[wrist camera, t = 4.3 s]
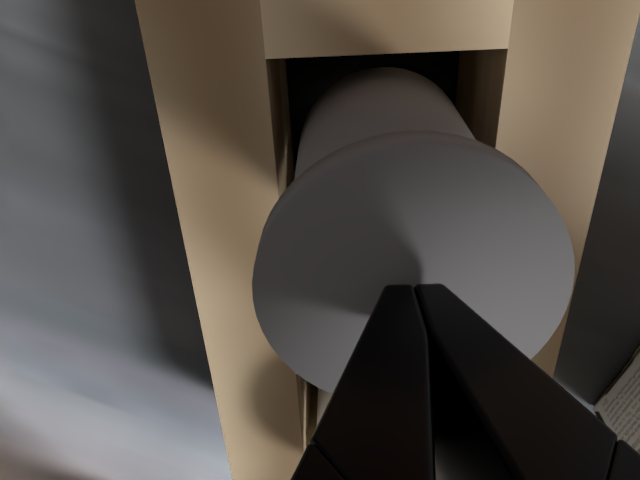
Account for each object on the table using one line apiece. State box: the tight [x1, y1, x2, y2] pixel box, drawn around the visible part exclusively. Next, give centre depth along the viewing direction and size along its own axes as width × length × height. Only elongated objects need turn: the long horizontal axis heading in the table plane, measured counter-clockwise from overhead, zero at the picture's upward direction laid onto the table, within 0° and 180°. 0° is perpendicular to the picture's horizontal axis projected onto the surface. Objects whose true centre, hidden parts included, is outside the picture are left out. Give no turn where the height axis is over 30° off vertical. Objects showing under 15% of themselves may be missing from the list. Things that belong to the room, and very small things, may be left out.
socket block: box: [135, 0, 640, 480], centre depth 14 cm, size 10×26×4 cm, turn 3°
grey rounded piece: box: [252, 67, 575, 394], centre depth 11 cm, size 5×5×6 cm
